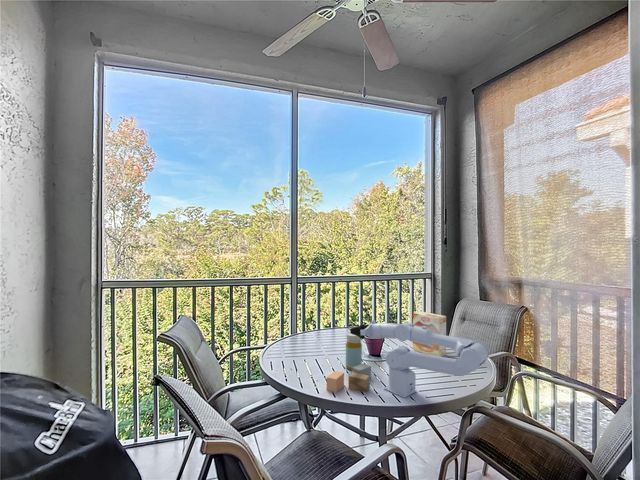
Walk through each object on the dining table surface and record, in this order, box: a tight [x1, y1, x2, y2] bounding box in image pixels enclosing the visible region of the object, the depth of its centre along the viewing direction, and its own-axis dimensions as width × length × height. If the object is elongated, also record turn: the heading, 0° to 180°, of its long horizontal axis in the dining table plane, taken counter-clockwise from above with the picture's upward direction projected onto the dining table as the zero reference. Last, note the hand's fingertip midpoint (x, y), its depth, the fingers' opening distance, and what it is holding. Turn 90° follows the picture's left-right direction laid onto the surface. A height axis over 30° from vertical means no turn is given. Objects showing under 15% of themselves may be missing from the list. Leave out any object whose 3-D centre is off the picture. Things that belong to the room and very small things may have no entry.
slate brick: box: [351, 363, 372, 379], centre depth 139 cm, size 7×4×5 cm, turn 132°
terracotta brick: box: [326, 370, 345, 393], centre depth 130 cm, size 7×4×5 cm, turn 152°
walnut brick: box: [348, 371, 371, 393], centre depth 130 cm, size 7×4×5 cm, turn 61°
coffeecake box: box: [412, 310, 447, 357], centre depth 171 cm, size 15×7×20 cm, turn 42°
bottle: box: [345, 332, 363, 371], centre depth 150 cm, size 7×7×15 cm
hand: (356, 329), depth 142 cm, fingers open, 7 cm apart
